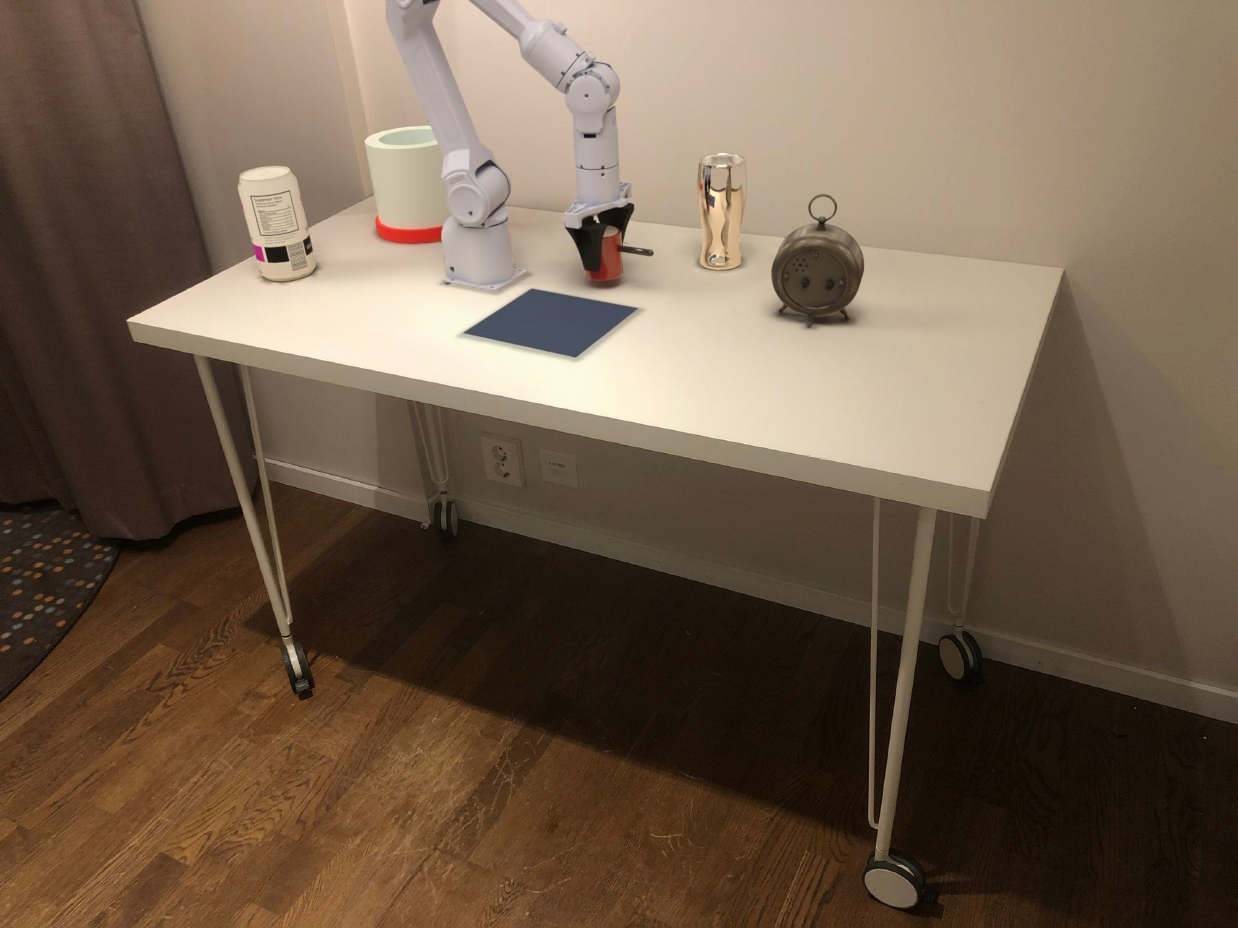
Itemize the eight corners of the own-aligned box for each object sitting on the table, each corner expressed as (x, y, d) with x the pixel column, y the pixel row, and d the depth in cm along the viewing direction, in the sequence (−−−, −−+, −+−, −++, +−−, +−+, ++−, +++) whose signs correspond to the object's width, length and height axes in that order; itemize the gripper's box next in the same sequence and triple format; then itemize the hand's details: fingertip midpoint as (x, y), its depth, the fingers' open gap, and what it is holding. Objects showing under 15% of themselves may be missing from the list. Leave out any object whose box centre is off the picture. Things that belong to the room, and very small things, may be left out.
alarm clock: (859, 316, 119) (872, 190, 110) (853, 334, 115) (867, 204, 106) (774, 308, 122) (780, 184, 114) (766, 325, 118) (772, 198, 109)
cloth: (462, 334, 119) (462, 332, 119) (531, 290, 131) (531, 288, 131) (575, 359, 112) (575, 357, 112) (638, 310, 124) (638, 308, 124)
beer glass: (742, 272, 133) (745, 166, 125) (693, 270, 135) (693, 165, 127) (746, 255, 139) (749, 152, 131) (699, 253, 140) (700, 152, 132)
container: (491, 216, 159) (480, 128, 151) (439, 247, 147) (425, 153, 139) (413, 208, 165) (399, 122, 157) (357, 237, 153) (339, 146, 145)
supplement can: (249, 280, 139) (222, 179, 131) (285, 260, 145) (261, 163, 137) (293, 285, 136) (268, 183, 128) (328, 265, 143) (306, 166, 134)
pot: (577, 277, 130) (574, 234, 126) (596, 264, 133) (594, 222, 130) (644, 288, 125) (643, 245, 122) (663, 275, 129) (662, 232, 126)
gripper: (595, 182, 115) (601, 285, 123) (649, 153, 126) (652, 250, 133) (547, 176, 118) (556, 278, 126) (604, 148, 129) (609, 243, 136)
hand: (602, 263), depth 130 cm, fingers closed on pot, 5 cm apart
